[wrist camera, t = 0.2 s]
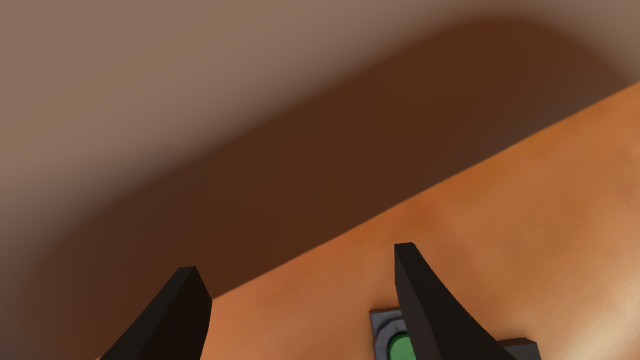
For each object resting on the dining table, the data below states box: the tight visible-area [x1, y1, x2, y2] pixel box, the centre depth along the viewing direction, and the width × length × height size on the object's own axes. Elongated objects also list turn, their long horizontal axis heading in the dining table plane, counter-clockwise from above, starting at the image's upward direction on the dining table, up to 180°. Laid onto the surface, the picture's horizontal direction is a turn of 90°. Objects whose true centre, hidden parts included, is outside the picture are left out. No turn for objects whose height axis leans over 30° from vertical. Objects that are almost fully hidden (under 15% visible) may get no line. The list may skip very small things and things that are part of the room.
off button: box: [389, 334, 416, 360], centre depth 36 cm, size 4×4×2 cm
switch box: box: [369, 307, 408, 360], centre depth 38 cm, size 10×8×4 cm
